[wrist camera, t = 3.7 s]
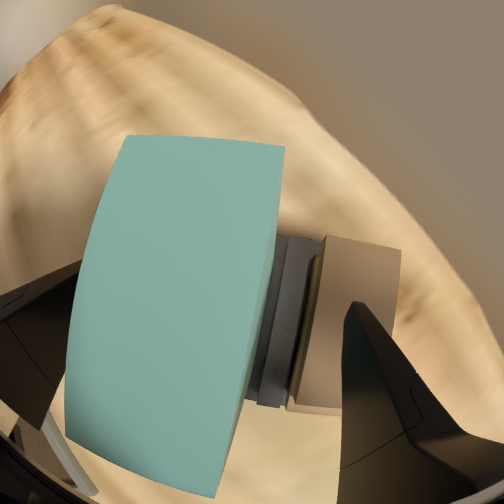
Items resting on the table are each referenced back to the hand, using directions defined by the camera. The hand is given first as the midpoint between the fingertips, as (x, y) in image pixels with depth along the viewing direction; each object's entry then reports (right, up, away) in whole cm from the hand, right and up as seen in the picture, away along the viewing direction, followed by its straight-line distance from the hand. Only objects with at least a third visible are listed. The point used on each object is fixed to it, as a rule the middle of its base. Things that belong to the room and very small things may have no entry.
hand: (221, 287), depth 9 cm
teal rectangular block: (0, -2, +6) cm, 7 cm away
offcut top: (+6, -2, +3) cm, 7 cm away
